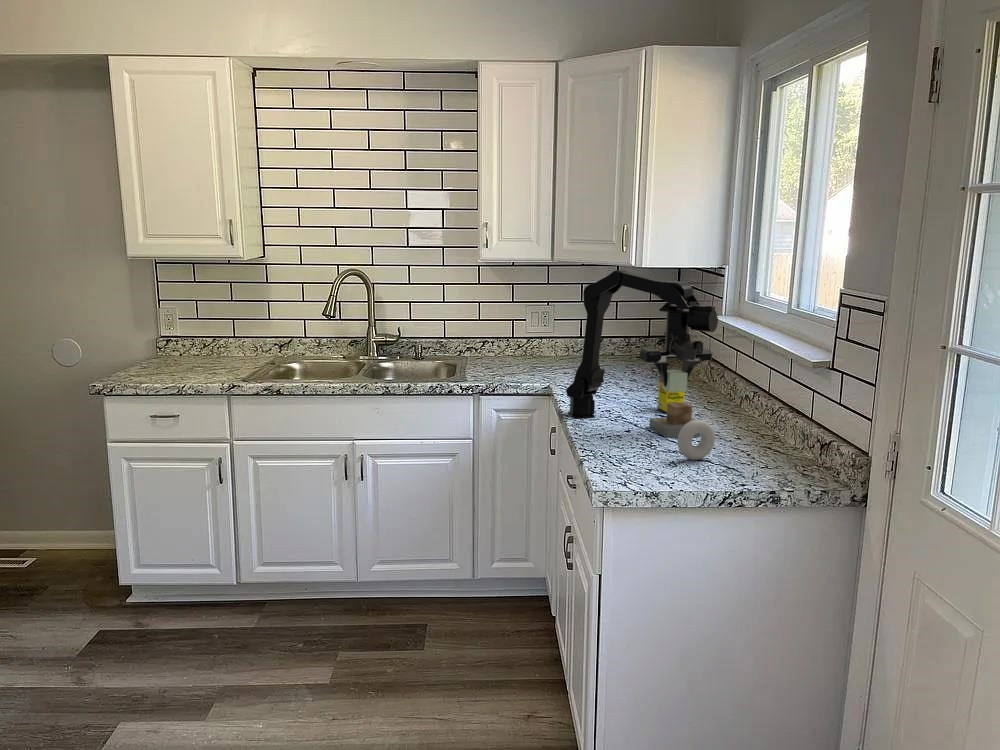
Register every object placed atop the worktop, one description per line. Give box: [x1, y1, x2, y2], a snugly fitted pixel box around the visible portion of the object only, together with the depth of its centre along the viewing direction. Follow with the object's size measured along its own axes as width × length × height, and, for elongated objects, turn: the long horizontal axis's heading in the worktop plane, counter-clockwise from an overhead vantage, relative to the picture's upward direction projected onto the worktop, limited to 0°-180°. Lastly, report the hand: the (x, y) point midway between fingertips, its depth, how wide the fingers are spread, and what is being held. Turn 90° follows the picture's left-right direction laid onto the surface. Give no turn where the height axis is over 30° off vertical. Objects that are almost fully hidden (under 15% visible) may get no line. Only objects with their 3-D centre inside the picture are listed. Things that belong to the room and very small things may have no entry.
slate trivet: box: [649, 416, 701, 439], centre depth 212 cm, size 12×12×2 cm
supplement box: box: [657, 376, 685, 415], centre depth 234 cm, size 6×6×11 cm
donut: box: [677, 419, 716, 461], centre depth 184 cm, size 10×3×10 cm, turn 110°
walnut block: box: [666, 401, 693, 425], centre depth 211 cm, size 5×5×5 cm
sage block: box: [662, 369, 688, 393], centre depth 207 cm, size 5×5×5 cm
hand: (674, 386), depth 207 cm, fingers closed on sage block, 5 cm apart
